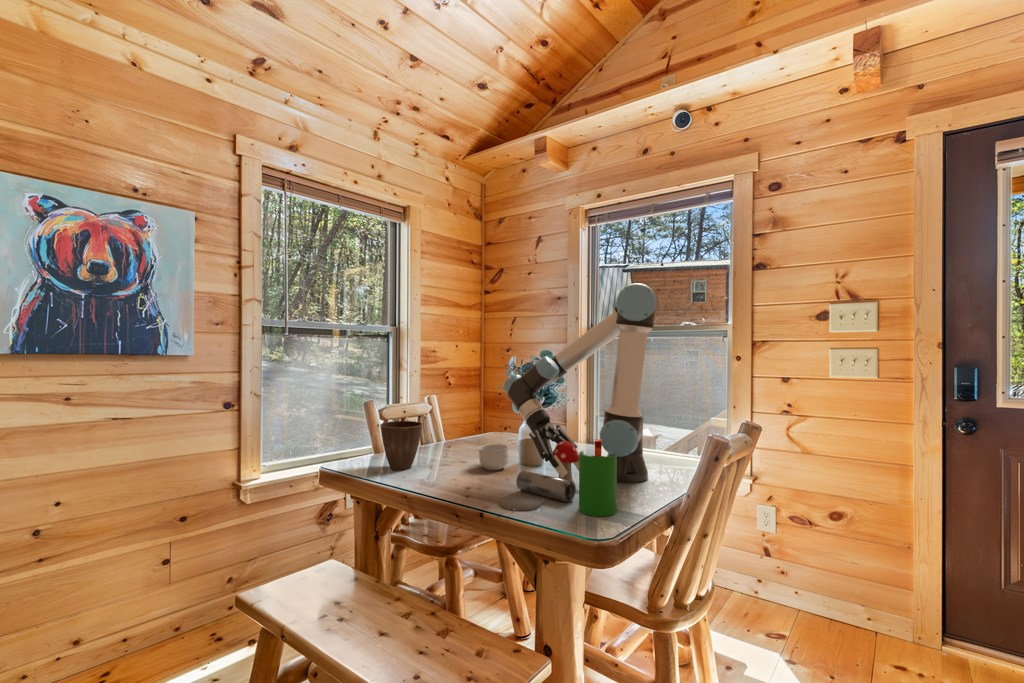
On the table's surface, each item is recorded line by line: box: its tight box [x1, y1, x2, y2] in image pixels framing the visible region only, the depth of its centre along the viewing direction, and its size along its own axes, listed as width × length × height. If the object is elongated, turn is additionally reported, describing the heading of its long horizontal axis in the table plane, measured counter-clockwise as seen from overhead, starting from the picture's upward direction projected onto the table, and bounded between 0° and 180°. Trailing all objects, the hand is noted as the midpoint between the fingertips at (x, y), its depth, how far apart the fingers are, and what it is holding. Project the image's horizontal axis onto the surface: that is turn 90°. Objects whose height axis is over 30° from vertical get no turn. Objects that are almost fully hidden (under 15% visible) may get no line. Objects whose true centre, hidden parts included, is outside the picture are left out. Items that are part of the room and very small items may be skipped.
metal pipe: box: [516, 470, 577, 503], centre depth 156 cm, size 6×18×6 cm, turn 47°
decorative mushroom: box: [552, 441, 579, 482], centre depth 163 cm, size 10×9×15 cm
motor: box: [578, 438, 618, 517], centre depth 142 cm, size 10×9×20 cm
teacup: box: [478, 443, 509, 471], centre depth 191 cm, size 14×11×8 cm
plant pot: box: [380, 420, 423, 471], centre depth 189 cm, size 15×15×16 cm
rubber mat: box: [499, 494, 543, 511], centre depth 148 cm, size 12×12×1 cm
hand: (573, 472), depth 161 cm, fingers closed on decorative mushroom, 9 cm apart
